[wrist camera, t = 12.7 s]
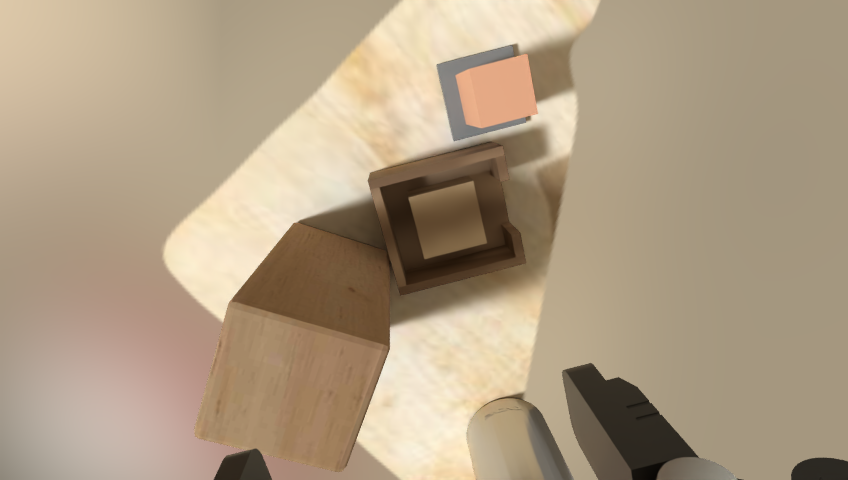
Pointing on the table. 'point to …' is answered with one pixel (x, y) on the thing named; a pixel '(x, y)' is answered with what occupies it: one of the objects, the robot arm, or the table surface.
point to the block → (497, 92)
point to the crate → (446, 217)
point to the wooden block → (301, 351)
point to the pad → (453, 96)
